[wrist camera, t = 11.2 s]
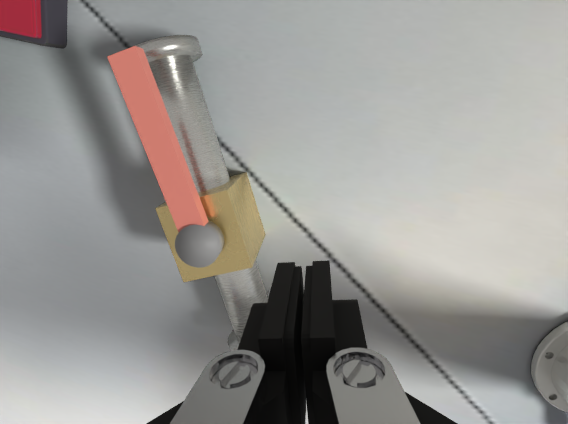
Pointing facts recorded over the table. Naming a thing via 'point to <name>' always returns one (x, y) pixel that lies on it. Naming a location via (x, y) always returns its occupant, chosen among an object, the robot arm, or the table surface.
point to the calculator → (35, 21)
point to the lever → (166, 159)
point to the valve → (209, 182)
